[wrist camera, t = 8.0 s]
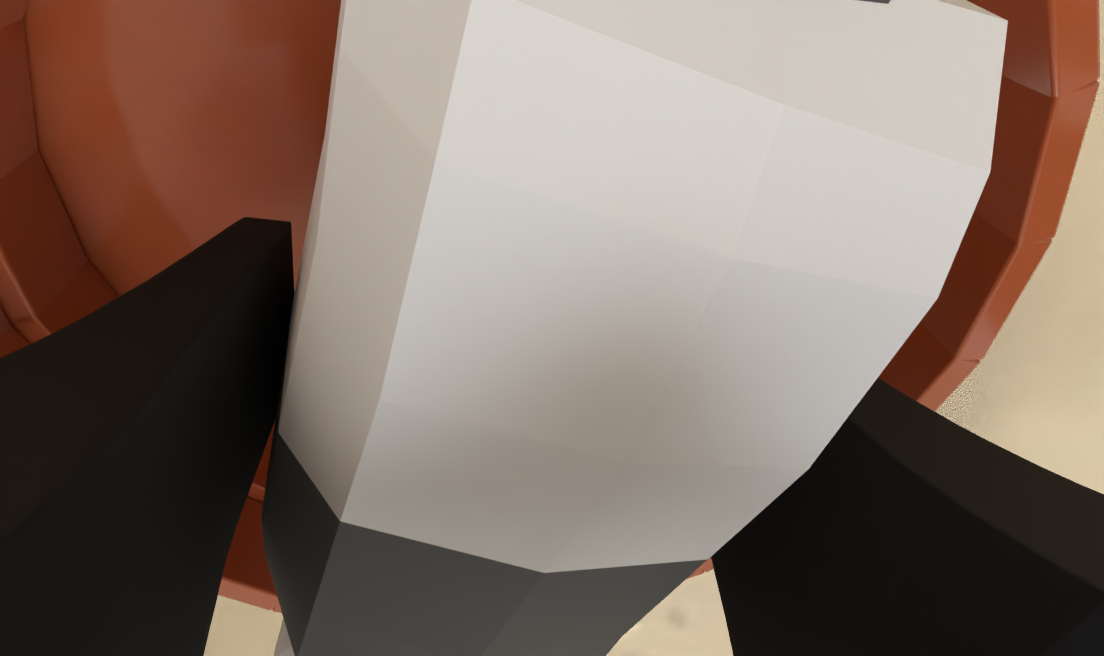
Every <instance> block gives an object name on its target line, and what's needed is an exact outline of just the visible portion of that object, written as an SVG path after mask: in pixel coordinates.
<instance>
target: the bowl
mask: <svg viewBox="0 0 1104 656" xmlns="http://www.w3.org/2000/svg"><path fill="white" fill-rule="evenodd" d="M967 1H969V2H971V3H973V4H975V5H977V6H979V7H981V8H983V9H985V10H987V11H989V12H991V13H993V14H995V15H997V16H999V17H1001V18H1003V19H1005V20H1007V21H1008V25H1007V33H1006V42H1005V50H1004V59H1003V67H1002V76H1001V85H1000V93H999V102H998V110H997V119H996V127H995V136H994V144H993V153H992V162H991V170H990V174H989V176H988V179H987V181H986V184H985V186H984V188H983V191H982V193H981V196H980V198H979V200H978V203H977V205H976V208H975V210H974V212H973V215H972V217H971V220H970V222H969V224H968V227H967V229H966V232H965V234H964V236H963V239H962V241H961V244H960V246H959V248H958V251H957V253H956V256H955V258H954V260H953V263H952V265H951V268H950V270H949V272H948V275H947V277H946V280H945V282H944V284H943V287H942V289H941V292H940V294H939V296H938V299H937V300H936V301H935V303H934V304H933V305H932V307H931V308H930V309H929V310H928V312H927V313H926V314H925V316H924V317H923V318H922V320H921V321H920V322H919V324H918V325H917V326H916V328H915V329H914V330H913V332H912V333H911V334H910V336H909V337H908V338H907V340H906V341H905V342H904V344H903V345H902V346H901V348H900V349H899V350H898V352H897V353H896V354H895V355H894V357H893V358H892V359H891V361H890V362H889V363H888V365H887V366H886V367H885V369H884V370H883V371H882V373H881V374H880V375H879V378H880V379H882V380H883V381H885V382H886V383H888V384H889V385H891V386H892V387H894V388H896V389H897V390H899V391H900V392H902V393H904V394H905V395H907V396H908V397H910V398H912V399H914V400H915V401H917V402H919V403H921V404H922V405H924V406H926V407H927V408H929V409H931V410H933V411H934V412H935V411H936V410H937V409H938V408H939V407H940V406H941V405H942V404H943V402H944V401H945V400H946V399H947V398H948V397H949V396H950V395H951V394H952V393H953V392H954V391H955V389H956V388H957V387H958V386H959V385H960V384H961V383H962V382H963V381H964V380H965V379H966V378H967V376H968V375H969V374H970V373H971V372H972V371H973V370H974V369H975V368H976V367H977V366H978V364H979V363H980V360H981V359H983V358H984V357H985V355H986V353H987V351H988V350H989V348H990V346H991V345H992V343H993V341H994V340H995V338H996V336H997V334H998V333H999V331H1000V329H1001V328H1002V326H1003V324H1004V323H1005V321H1006V319H1007V317H1008V316H1009V314H1010V312H1011V311H1012V309H1013V307H1014V306H1015V304H1016V302H1017V300H1018V299H1019V297H1020V295H1021V294H1022V292H1023V290H1024V289H1025V287H1026V285H1027V283H1028V282H1029V280H1030V278H1031V277H1032V275H1033V273H1034V271H1035V270H1036V268H1037V266H1038V265H1039V263H1040V261H1041V260H1042V258H1043V256H1044V254H1045V253H1046V251H1047V249H1048V248H1049V246H1050V244H1051V243H1052V239H1051V238H1053V237H1054V236H1055V235H1056V231H1057V228H1058V224H1059V221H1060V217H1061V214H1062V211H1063V207H1064V204H1065V200H1066V197H1067V193H1068V190H1069V187H1070V183H1071V180H1072V176H1073V173H1074V170H1075V166H1076V163H1077V159H1078V156H1079V152H1080V149H1081V146H1082V142H1083V139H1084V135H1085V132H1086V128H1087V125H1088V122H1089V118H1090V115H1091V111H1092V108H1093V104H1094V101H1095V98H1096V94H1097V91H1098V87H1099V82H1098V81H1097V80H1098V79H1099V77H1100V40H1099V0H967ZM340 6H341V0H0V358H1V357H3V356H6V355H8V354H10V353H12V352H14V351H16V350H19V349H21V348H23V347H25V346H27V345H29V344H32V343H34V342H36V341H38V340H40V339H42V338H44V337H46V336H48V335H50V334H52V333H54V332H56V331H58V330H60V329H62V328H64V327H66V326H68V325H70V324H72V323H74V322H75V321H77V320H79V319H81V318H83V317H85V316H86V315H88V314H90V313H92V312H93V311H95V310H97V309H99V308H100V307H102V306H104V305H105V304H107V303H109V302H111V301H112V300H114V299H116V298H118V297H119V296H121V295H123V294H125V293H126V292H128V291H130V290H132V289H133V288H135V287H137V286H139V285H140V284H142V283H144V282H145V281H147V280H149V279H150V278H152V277H153V276H155V275H156V274H158V273H160V272H161V271H163V270H164V269H166V268H167V267H169V266H170V265H172V264H173V263H175V262H177V261H178V260H180V259H181V258H183V257H184V256H186V255H187V254H189V253H190V252H192V251H193V250H195V249H196V248H198V247H199V246H201V245H202V244H204V243H205V242H207V241H208V240H210V239H211V238H213V237H214V236H216V235H217V234H219V233H220V232H222V231H223V230H225V229H226V228H228V227H229V226H231V225H232V224H234V223H235V222H237V221H239V220H240V219H242V218H244V217H251V218H261V219H270V220H280V221H289V222H291V230H292V251H293V271H294V292H295V289H296V283H297V278H298V273H299V268H300V262H301V257H302V252H303V247H304V241H305V236H306V231H307V225H308V220H309V215H310V210H311V204H312V199H313V194H314V189H315V183H316V178H317V173H318V167H319V162H320V157H321V152H322V146H323V141H324V136H325V129H326V121H327V113H328V105H329V96H330V88H331V80H332V72H333V63H334V55H335V47H336V39H337V31H338V22H339V14H340ZM274 424H275V422H274ZM273 431H274V425H273V427H272V430H271V433H270V436H269V439H268V441H267V444H266V447H265V450H264V452H263V455H262V458H261V461H260V463H259V466H258V469H257V472H256V474H255V477H254V480H253V483H252V485H251V488H250V491H249V493H248V496H247V499H246V502H245V504H244V507H243V510H242V513H241V515H240V518H239V521H238V524H237V527H236V530H235V533H234V536H233V540H232V543H231V546H230V549H229V552H228V556H227V559H226V564H225V568H224V572H223V576H222V580H221V584H220V588H219V592H218V595H220V596H224V597H227V598H230V599H234V600H237V601H240V602H244V603H247V604H250V605H254V606H257V607H260V608H264V609H267V610H273V611H274V612H280V613H282V611H281V607H280V604H279V600H278V597H277V594H276V590H275V587H274V583H273V580H272V576H271V573H270V570H269V566H268V563H267V559H266V556H265V552H264V543H263V532H262V520H261V515H262V508H263V501H264V494H265V487H266V480H267V473H268V466H269V459H270V452H271V445H272V438H273ZM712 569H714V568H713V563H712V559H711V557H710V558H709V559H708V560H707V561H706V562H704V563H703V564H702V565H701V566H700V567H699V568H698V569H697V570H695V571H694V572H693V573H692V574H691V575H690V576H689V577H688V578H691V577H694V576H697V575H700V574H703V573H704V571H705V572H708V571H710V570H712ZM688 578H687V579H688Z"/></svg>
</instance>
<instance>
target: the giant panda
mask: <svg viewBox="0 0 1104 656" xmlns="http://www.w3.org/2000/svg"><path fill="white" fill-rule="evenodd" d="M1007 25H1008V21H1007V20H1005V19H1003V18H1001V17H999V16H997V15H995V14H993V13H991V12H989V11H987V10H985V9H983V8H981V7H979V6H977V5H975V4H973V3H971V2H969V1H967V0H341V6H340V14H339V22H338V31H337V39H336V47H335V55H334V63H333V72H332V80H331V88H330V96H329V105H328V113H327V121H326V129H325V136H324V141H323V146H322V152H321V157H320V162H319V167H318V173H317V178H316V183H315V189H314V194H313V199H312V204H311V210H310V215H309V220H308V225H307V231H306V236H305V241H304V247H303V252H302V257H301V262H300V268H299V273H298V278H297V283H296V289H295V294H294V299H293V305H292V310H291V317H290V323H289V329H288V336H287V342H286V349H285V355H284V362H283V369H282V375H281V382H280V389H279V396H278V403H277V410H276V417H275V424H274V431H273V438H272V445H271V452H270V459H269V466H268V473H267V480H266V487H265V494H264V501H263V508H262V515H261V520H262V532H263V543H264V552H265V556H266V559H267V563H268V566H269V570H270V573H271V576H272V580H273V583H274V587H275V590H276V594H277V597H278V600H279V604H280V607H281V611H282V614H283V617H284V618H283V622H282V626H281V630H280V633H279V637H278V641H277V645H276V649H275V652H274V656H606V655H607V654H608V652H609V651H610V650H611V649H612V648H613V646H614V645H615V644H616V643H617V642H618V640H619V639H620V638H621V637H622V636H623V635H624V634H625V633H626V632H627V631H628V630H629V629H631V628H632V627H633V626H634V625H635V624H636V623H637V622H638V621H640V620H641V619H642V618H643V617H644V616H645V615H646V614H647V613H648V612H650V611H651V610H652V609H653V608H654V607H655V606H656V605H657V604H659V603H660V602H661V601H662V600H663V599H664V598H665V597H666V596H668V595H669V594H670V593H671V592H672V591H673V590H674V589H675V588H676V587H678V586H679V585H680V584H681V583H682V582H683V581H684V580H685V579H687V578H688V577H689V576H690V575H691V574H692V573H693V572H694V571H695V570H697V569H698V568H699V567H700V566H701V565H702V564H703V563H704V562H706V561H707V560H708V559H709V558H710V557H711V556H712V555H713V554H714V553H716V552H717V551H718V550H719V549H720V548H721V547H722V546H723V545H725V544H726V543H727V542H728V541H729V540H730V539H731V538H732V537H733V536H735V535H736V534H737V533H738V532H739V531H740V530H741V529H742V528H743V527H745V526H746V525H747V524H748V523H749V522H750V521H751V520H752V519H754V518H755V517H756V516H757V515H758V514H759V513H760V512H761V511H762V510H764V509H765V508H766V507H767V506H768V505H769V504H770V503H771V502H773V501H774V500H775V499H776V498H777V497H778V496H779V495H780V494H781V493H783V492H784V491H785V490H786V489H787V488H788V487H789V486H790V485H791V484H793V483H794V482H795V481H796V480H797V479H798V478H799V477H800V476H802V475H803V474H804V473H805V472H806V471H807V470H808V469H809V468H810V467H811V465H812V464H813V463H814V461H815V460H816V459H817V457H818V456H819V455H820V453H821V452H822V451H823V449H824V448H825V447H826V445H827V444H828V443H829V442H830V440H831V439H832V438H833V436H834V435H835V434H836V432H837V431H838V430H839V428H840V427H841V426H842V424H843V423H844V422H845V420H846V419H847V418H848V416H849V415H850V414H851V412H852V411H853V410H854V408H855V407H856V406H857V404H858V403H859V402H860V400H861V399H862V398H863V397H864V395H865V394H866V393H867V391H868V390H869V389H870V387H871V386H872V385H873V383H874V382H875V381H876V379H877V378H878V377H879V375H880V374H881V373H882V371H883V370H884V369H885V367H886V366H887V365H888V363H889V362H890V361H891V359H892V358H893V357H894V355H895V354H896V353H897V352H898V350H899V349H900V348H901V346H902V345H903V344H904V342H905V341H906V340H907V338H908V337H909V336H910V334H911V333H912V332H913V330H914V329H915V328H916V326H917V325H918V324H919V322H920V321H921V320H922V318H923V317H924V316H925V314H926V313H927V312H928V310H929V309H930V308H931V307H932V305H933V304H934V303H935V301H936V300H937V299H938V296H939V294H940V292H941V289H942V287H943V284H944V282H945V280H946V277H947V275H948V272H949V270H950V268H951V265H952V263H953V260H954V258H955V256H956V253H957V251H958V248H959V246H960V244H961V241H962V239H963V236H964V234H965V232H966V229H967V227H968V224H969V222H970V220H971V217H972V215H973V212H974V210H975V208H976V205H977V203H978V200H979V198H980V196H981V193H982V191H983V188H984V186H985V184H986V181H987V179H988V176H989V174H990V170H991V162H992V153H993V144H994V136H995V127H996V119H997V110H998V102H999V93H1000V85H1001V76H1002V67H1003V59H1004V50H1005V42H1006V33H1007Z"/></svg>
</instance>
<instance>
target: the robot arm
mask: <svg viewBox="0 0 1104 656" xmlns="http://www.w3.org/2000/svg"><path fill="white" fill-rule="evenodd" d="M294 294H295V292H294V271H293V251H292V230H291V222H289V221H280V220H270V219H261V218H251V217H244V218H242V219H240V220H239V221H237V222H235V223H234V224H232V225H231V226H229V227H228V228H226V229H225V230H223V231H222V232H220V233H219V234H217V235H216V236H214V237H213V238H211V239H210V240H208V241H207V242H205V243H204V244H202V245H201V246H199V247H198V248H196V249H195V250H193V251H192V252H190V253H189V254H187V255H186V256H184V257H183V258H181V259H180V260H178V261H177V262H175V263H173V264H172V265H170V266H169V267H167V268H166V269H164V270H163V271H161V272H160V273H158V274H156V275H155V276H153V277H152V278H150V279H149V280H147V281H145V282H144V283H142V284H140V285H139V286H137V287H135V288H133V289H132V290H130V291H128V292H126V293H125V294H123V295H121V296H119V297H118V298H116V299H114V300H112V301H111V302H109V303H107V304H105V305H104V306H102V307H100V308H99V309H97V310H95V311H93V312H92V313H90V314H88V315H86V316H85V317H83V318H81V319H79V320H77V321H75V322H74V323H72V324H70V325H68V326H66V327H64V328H62V329H60V330H58V331H56V332H54V333H52V334H50V335H48V336H46V337H44V338H42V339H40V340H38V341H36V342H34V343H32V344H29V345H27V346H25V347H23V348H21V349H19V350H16V351H14V352H12V353H10V354H8V355H6V356H3V357H1V358H0V656H203V655H204V651H205V646H206V642H207V638H208V633H209V629H210V625H211V621H212V616H213V612H214V608H215V604H216V600H217V596H218V592H219V588H220V584H221V580H222V576H223V572H224V568H225V564H226V559H227V556H228V552H229V549H230V546H231V543H232V540H233V536H234V533H235V530H236V527H237V524H238V521H239V518H240V515H241V513H242V510H243V507H244V504H245V502H246V499H247V496H248V493H249V491H250V488H251V485H252V483H253V480H254V477H255V474H256V472H257V469H258V466H259V463H260V461H261V458H262V455H263V452H264V450H265V447H266V444H267V441H268V439H269V436H270V433H271V430H272V427H273V425H274V422H275V417H276V410H277V403H278V396H279V389H280V382H281V375H282V369H283V362H284V355H285V349H286V342H287V336H288V329H289V323H290V317H291V310H292V305H293V299H294ZM711 559H712V563H713V568H714V572H715V576H716V580H717V584H718V588H719V592H720V596H721V601H722V605H723V609H724V613H725V617H726V622H727V627H728V631H729V636H730V641H731V646H732V650H733V655H734V656H1104V494H1101V493H1099V492H1096V491H1094V490H1092V489H1089V488H1087V487H1085V486H1082V485H1080V484H1078V483H1075V482H1073V481H1071V480H1069V479H1066V478H1064V477H1062V476H1060V475H1058V474H1055V473H1053V472H1051V471H1049V470H1047V469H1044V468H1042V467H1040V466H1038V465H1036V464H1034V463H1032V462H1030V461H1028V460H1026V459H1024V458H1022V457H1020V456H1018V455H1016V454H1014V453H1012V452H1010V451H1007V450H1005V449H1003V448H1001V447H999V446H997V445H995V444H993V443H991V442H989V441H987V440H985V439H983V438H981V437H980V436H978V435H976V434H974V433H972V432H970V431H968V430H966V429H964V428H963V427H961V426H959V425H957V424H955V423H953V422H952V421H950V420H948V419H946V418H945V417H943V416H941V415H940V414H938V413H936V412H934V411H933V410H931V409H929V408H927V407H926V406H924V405H922V404H921V403H919V402H917V401H915V400H914V399H912V398H910V397H908V396H907V395H905V394H904V393H902V392H900V391H899V390H897V389H896V388H894V387H892V386H891V385H889V384H888V383H886V382H885V381H883V380H882V379H880V378H879V377H878V378H877V379H876V381H875V382H874V383H873V385H872V386H871V387H870V389H869V390H868V391H867V393H866V394H865V395H864V397H863V398H862V399H861V400H860V402H859V403H858V404H857V406H856V407H855V408H854V410H853V411H852V412H851V414H850V415H849V416H848V418H847V419H846V420H845V422H844V423H843V424H842V426H841V427H840V428H839V430H838V431H837V432H836V434H835V435H834V436H833V438H832V439H831V440H830V442H829V443H828V444H827V445H826V447H825V448H824V449H823V451H822V452H821V453H820V455H819V456H818V457H817V459H816V460H815V461H814V463H813V464H812V465H811V467H810V468H809V469H808V470H807V471H806V472H805V473H804V474H803V475H802V476H800V477H799V478H798V479H797V480H796V481H795V482H794V483H793V484H791V485H790V486H789V487H788V488H787V489H786V490H785V491H784V492H783V493H781V494H780V495H779V496H778V497H777V498H776V499H775V500H774V501H773V502H771V503H770V504H769V505H768V506H767V507H766V508H765V509H764V510H762V511H761V512H760V513H759V514H758V515H757V516H756V517H755V518H754V519H752V520H751V521H750V522H749V523H748V524H747V525H746V526H745V527H743V528H742V529H741V530H740V531H739V532H738V533H737V534H736V535H735V536H733V537H732V538H731V539H730V540H729V541H728V542H727V543H726V544H725V545H723V546H722V547H721V548H720V549H719V550H718V551H717V552H716V553H714V554H713V555H712V556H711Z"/></svg>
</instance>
